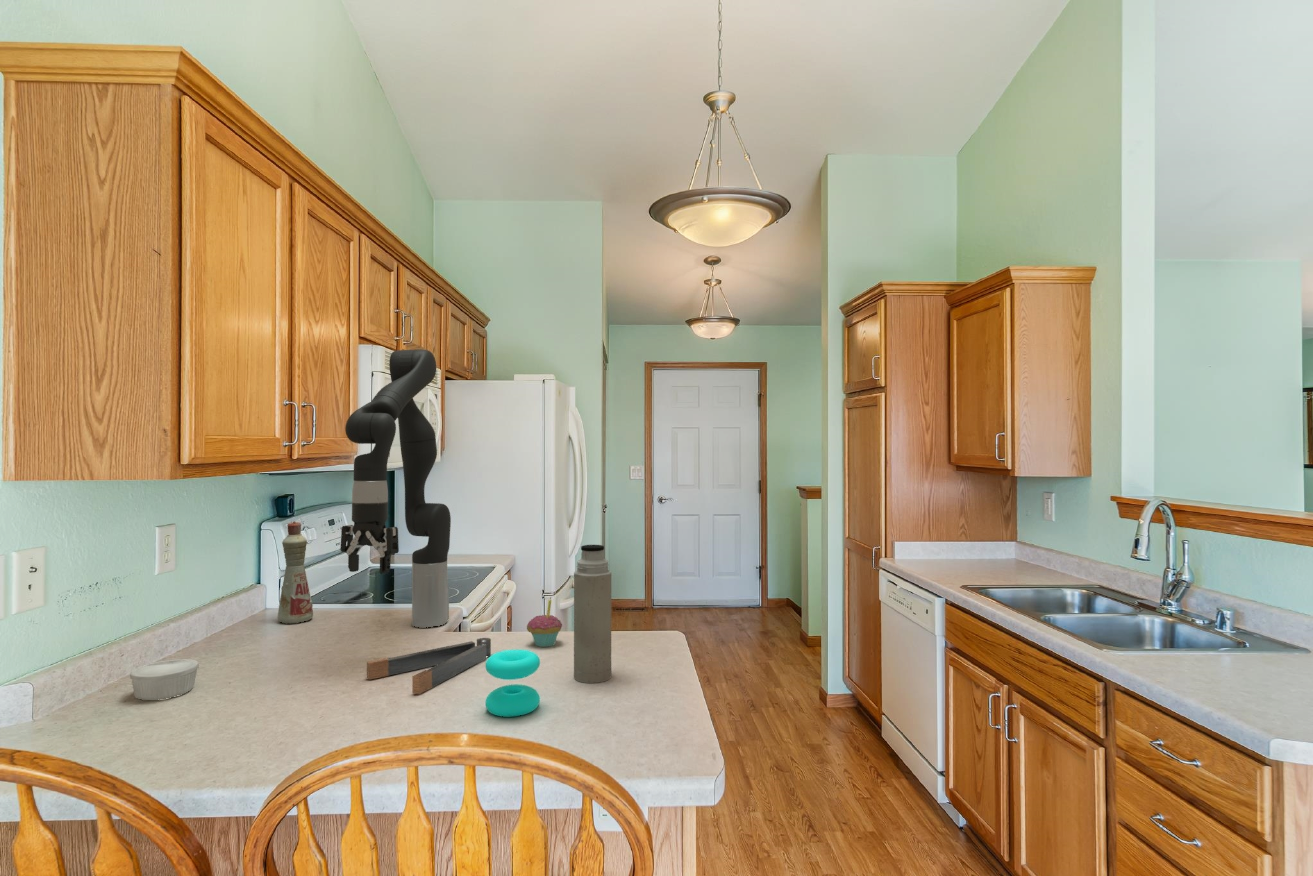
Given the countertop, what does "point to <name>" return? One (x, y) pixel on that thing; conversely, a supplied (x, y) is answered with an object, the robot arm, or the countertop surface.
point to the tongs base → (451, 667)
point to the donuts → (514, 696)
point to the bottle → (295, 579)
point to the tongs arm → (414, 660)
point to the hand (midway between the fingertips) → (368, 572)
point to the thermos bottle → (592, 616)
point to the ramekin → (164, 679)
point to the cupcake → (544, 628)
